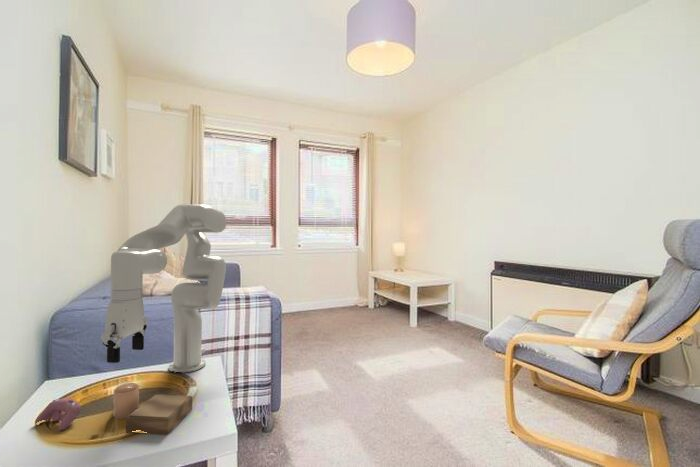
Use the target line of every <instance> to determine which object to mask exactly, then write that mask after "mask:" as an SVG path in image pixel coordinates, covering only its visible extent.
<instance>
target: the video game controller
mask: <svg viewBox="0 0 700 467" xmlns="http://www.w3.org/2000/svg"><path fill="white" fill-rule="evenodd" d="M81 411H82V405H81V403H79V402H77V401H76V400H74V399H72V398H68V397H67V398H65V397H63V398H58V399H53V400H52V402H49V403H48V405H47V406H46V407H45V408H44V409H43V411H42V412H40V413H39V414H38V416H37V417H36V418H35V421H34V424H35V425H36V423H37V422H39V421H42V420H46V421H48V420H49V419H50V418H51V420H52V422H59V421H60V423H59V425H58V430H59V431H60V432H61V431H64V430H66V429H67V428H68V427H69V426H71V425H72V423H73V422H74V421H75V419H76V418H77V416H78V415H79V414H80V413H81ZM47 419H48V420H47Z"/></svg>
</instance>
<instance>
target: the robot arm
mask: <svg viewBox="0 0 700 467" xmlns="http://www.w3.org/2000/svg"><path fill="white" fill-rule="evenodd" d="M226 228H227V217H226V215H225V214H224V212H223V211H221V210H218V209H216V208H214V207H212V206H210V205H206V204H199V203H198V204H193V203H192V204H189V203H188V204H187V203H185V204H184V203H183V204H178V205H176V206H174V207H173V208H172V209H171V210H170V211H169V212H168V214H166V215H165V216H164V218H163V219H162V220H161V221H160V222H159V223H158V224H157V225H155V226H152V227H149V228H147V229H145V230H143V231H141V232H139V233H136V234H134V235H133V236H131V237H129V238H128V239H127V240H126V241H125V242H124V243H123V244H121V245H120V247H118V249H117V250H116V251H114V252H113V253H112V254H111V257H110V302H108V306H107V309H106V316H105V323H104V324H105V326H104V331H103V332H102V334H101V335H100V339H101V341H102V345H104V348H105V349H106V363H112V364H114V363H116V364H118V363H119V362H121V347H120V344H121V341H122V339H126V338H127V337H130V336H131V338H132V339H131V347H132V348H131V349H132V350H136V351H137V350H138V351H143V350H144V349H145V344H144V343H145V339H144V338H145V335H146V330H147V328H148V326H147V325H148V322H149V317H146V316H145V308H144V300H143V275H151V274H152V275H153V274H158V273H161V272H162V271H163V270H164V269H165V268H166V266H167V264H168V257H167V255H166V254H165V252H164V251H162V250H161V249H163V248H168V247H170V246H173V245H176V244H178V243H179V242H180V241H181V240H182V239H183V237H184V236H186V239H187V248H186V253H185V258H184V262H183V265H182V269H181V270H182V272H181V274H182V276H183V278H185V279H186V280H188V281H189V280H190V281H204V282H205V281H208V282H207V283H206V282H205V283H204V282H182V283H179V284H176V285H175V286H173V288H172V290H171V293H170V297H171V298H170V299H171V305H172V309H173V361H172V362H171V363H170V364H168V370H169V371H170V372H172V371H175V372H174V373H176V372H182V373H183V374H184V373H191V372H194V371H198V370H200V369H201V368H203V367H205V365H206V359H205V358H203V357H202V354H204V353H205V352H206V350H205V347H202V336H203V335H202V334H203V333H202V326H203V324H202V323H203V322H202V321H203V319H202V316H201V313H200V311H199V309H200V310H210V309H211V310H213V309H216V308H217V307H218V306H219V304H220V302H221V299H222V294H223V289H224V284H225V280H226V279H225V278H226V272H227V265H226V261H225V260H224V259H223V257H220V256H217V255H216V256H215V255H213V256H212V255H211V247H212V245H211V242H210V241H209V239H208V238H207V236H206V235H205V233H216V234H217V233H222V232H223V231H225V229H226ZM114 340H115V342H114Z"/></svg>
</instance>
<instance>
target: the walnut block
mask: <svg viewBox="0 0 700 467" xmlns="http://www.w3.org/2000/svg"><path fill="white" fill-rule="evenodd" d="M191 410H192V411H193V395H175V394H174V395H173V394H154V395H152V396H151V398H149V399H148V400H146V401H145V402H144V403H143V404H141V405H139V408H137V409H136V410H135V411H134V412H132V413H131V414H130V415H128V416H127V417H126V418H125V420H126V425H125V426H126V427H125V430H126V431H125V432H126V433H128V432H132V431H136V430H141V431H144V432H147V433H150V435H165V436H166V435H167V436H168V435H169V434H170V433H171V432H173V430H174V429H175V428H176V427H177V426H178V425H179V424H180V423H181V422H182V421H183V420H184V419H185V418H186V417H187V416H188V415H189V414H188V413H189V412H190V411H191ZM192 411H191V412H192ZM191 412H190V413H191ZM187 414H188V415H187ZM128 434H129V433H128Z"/></svg>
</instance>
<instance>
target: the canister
mask: <svg viewBox="0 0 700 467" xmlns="http://www.w3.org/2000/svg"><path fill="white" fill-rule="evenodd" d="M139 407H140V385H139V384H138V383H137V382H128V383H122V384H120V385H118V386H117V387H116V388H114V389H113V418H114V419H118V420H120V419H122V420H123V419H126V417H127V416H128V415H130V414H131V413H132V412H134V411H135V410H136V409H137V408H139Z"/></svg>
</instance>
